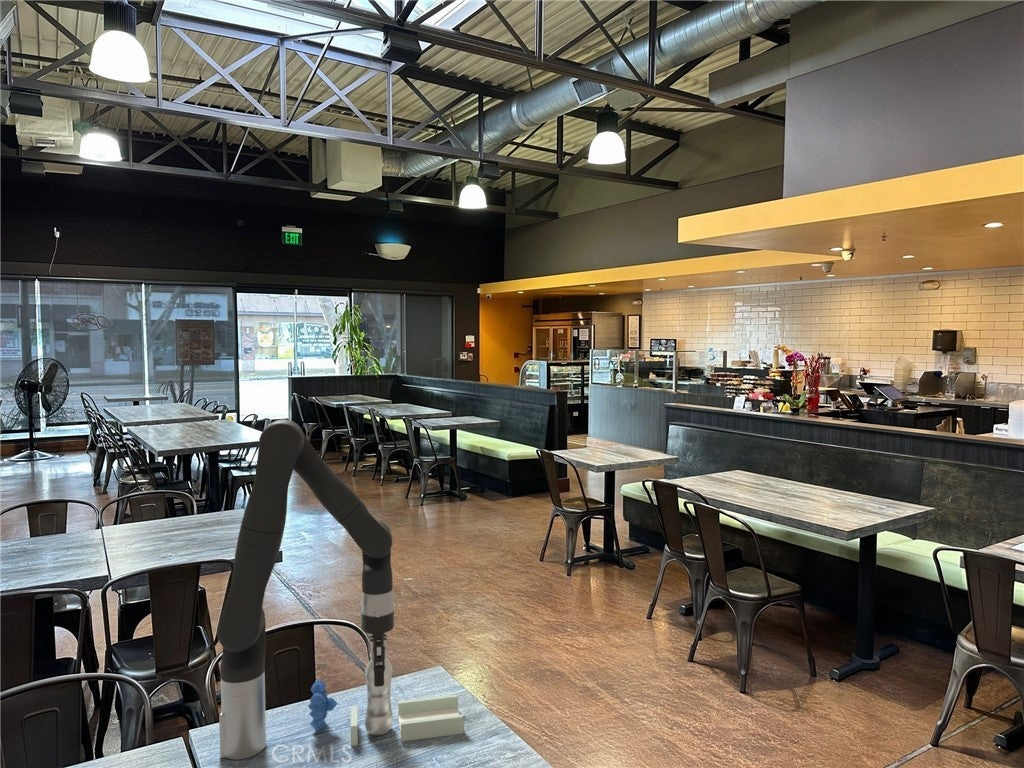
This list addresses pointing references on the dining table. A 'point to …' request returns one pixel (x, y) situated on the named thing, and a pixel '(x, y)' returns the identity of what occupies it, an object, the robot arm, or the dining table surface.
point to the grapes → (320, 705)
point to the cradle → (429, 717)
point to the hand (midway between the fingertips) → (378, 678)
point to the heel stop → (354, 726)
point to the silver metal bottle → (378, 700)
